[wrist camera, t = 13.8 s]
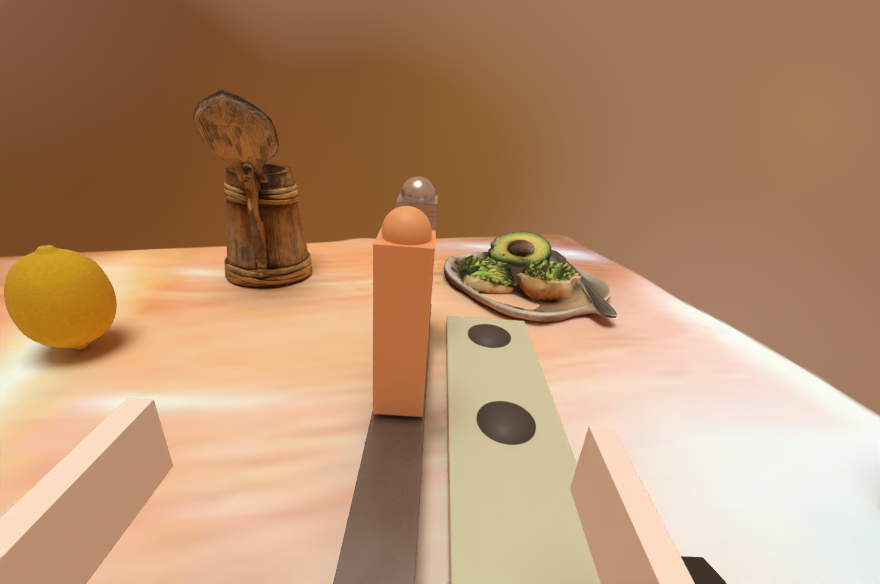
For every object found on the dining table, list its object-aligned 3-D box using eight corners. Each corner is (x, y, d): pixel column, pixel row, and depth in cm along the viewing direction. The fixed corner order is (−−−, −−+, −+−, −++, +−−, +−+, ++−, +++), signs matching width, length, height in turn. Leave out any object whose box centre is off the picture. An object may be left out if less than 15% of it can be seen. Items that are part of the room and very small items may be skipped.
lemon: (62, 380, 27) (16, 268, 23) (12, 357, 28) (-37, 249, 25) (145, 340, 31) (118, 242, 28) (98, 322, 33) (67, 228, 30)
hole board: (450, 683, 14) (453, 668, 14) (446, 325, 37) (447, 314, 36) (646, 692, 14) (656, 677, 14) (522, 330, 37) (524, 320, 36)
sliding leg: (372, 413, 23) (373, 211, 18) (380, 382, 25) (382, 197, 20) (422, 417, 23) (437, 216, 18) (424, 385, 25) (437, 202, 20)
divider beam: (303, 762, 12) (243, 425, 6) (396, 321, 37) (401, 168, 31) (402, 766, 12) (430, 436, 7) (429, 324, 37) (440, 171, 31)
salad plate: (660, 316, 43) (674, 276, 41) (533, 355, 34) (543, 306, 32) (535, 255, 57) (541, 223, 55) (425, 271, 49) (427, 234, 47)
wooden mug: (198, 311, 36) (150, 84, 28) (237, 257, 48) (211, 86, 40) (303, 309, 38) (286, 94, 30) (315, 257, 49) (305, 94, 42)
